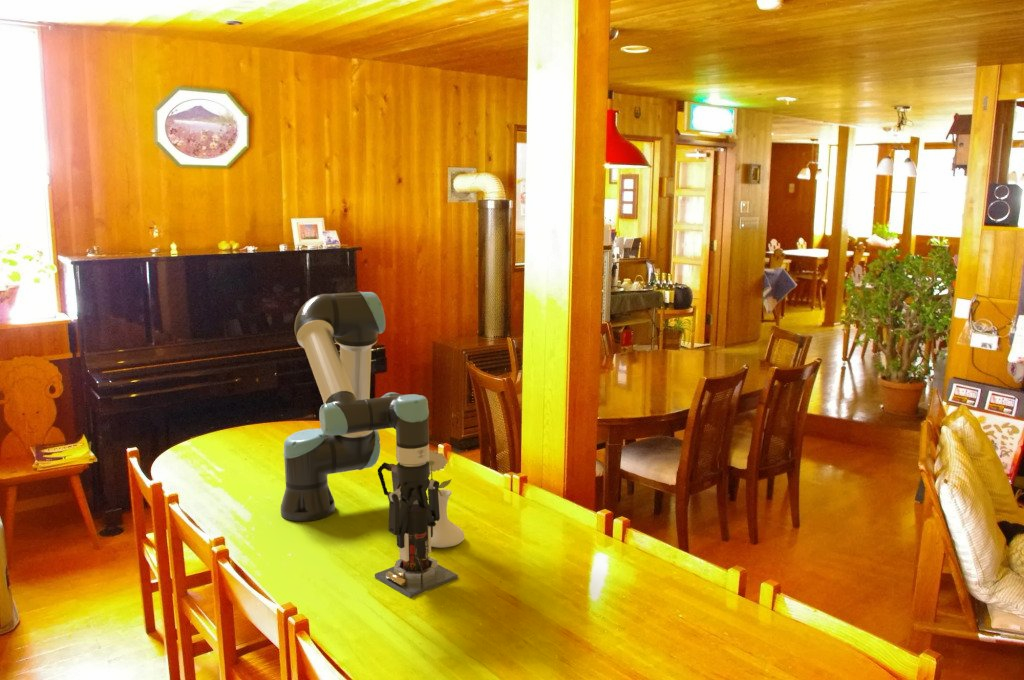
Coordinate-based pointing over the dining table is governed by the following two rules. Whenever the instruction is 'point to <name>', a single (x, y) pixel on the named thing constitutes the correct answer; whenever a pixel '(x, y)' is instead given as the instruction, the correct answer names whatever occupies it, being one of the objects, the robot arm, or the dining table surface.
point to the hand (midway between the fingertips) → (415, 555)
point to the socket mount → (415, 578)
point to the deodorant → (417, 539)
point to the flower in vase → (443, 509)
